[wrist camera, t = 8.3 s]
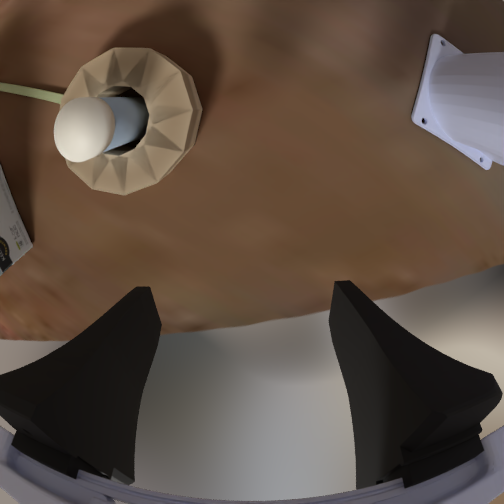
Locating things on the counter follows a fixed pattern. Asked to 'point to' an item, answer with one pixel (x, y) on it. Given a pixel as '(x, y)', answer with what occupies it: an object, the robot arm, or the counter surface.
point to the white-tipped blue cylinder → (99, 125)
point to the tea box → (10, 229)
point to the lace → (32, 92)
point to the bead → (159, 124)
